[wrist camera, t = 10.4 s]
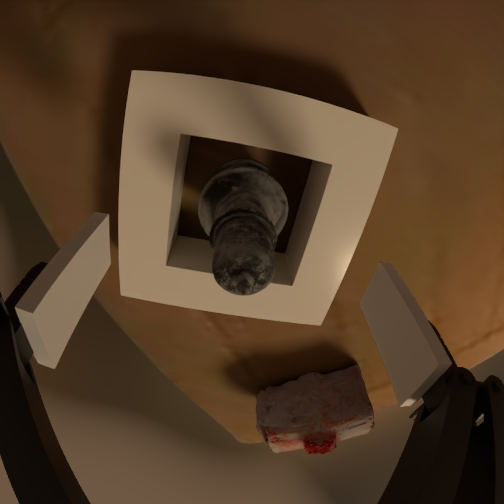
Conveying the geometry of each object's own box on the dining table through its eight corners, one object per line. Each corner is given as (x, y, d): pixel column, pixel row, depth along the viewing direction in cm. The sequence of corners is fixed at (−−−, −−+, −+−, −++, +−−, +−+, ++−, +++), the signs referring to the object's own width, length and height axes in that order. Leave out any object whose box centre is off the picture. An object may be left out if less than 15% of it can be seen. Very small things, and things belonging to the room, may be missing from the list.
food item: (268, 409, 39) (272, 470, 30) (250, 381, 35) (253, 452, 26) (361, 385, 37) (379, 445, 28) (359, 353, 33) (382, 422, 24)
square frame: (153, 73, 17) (132, 70, 13) (370, 119, 19) (398, 128, 16) (136, 263, 25) (120, 295, 21) (310, 291, 27) (320, 325, 24)
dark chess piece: (271, 233, 24) (291, 348, 14) (198, 220, 23) (168, 332, 13) (290, 164, 21) (336, 244, 11) (211, 148, 20) (177, 215, 10)
